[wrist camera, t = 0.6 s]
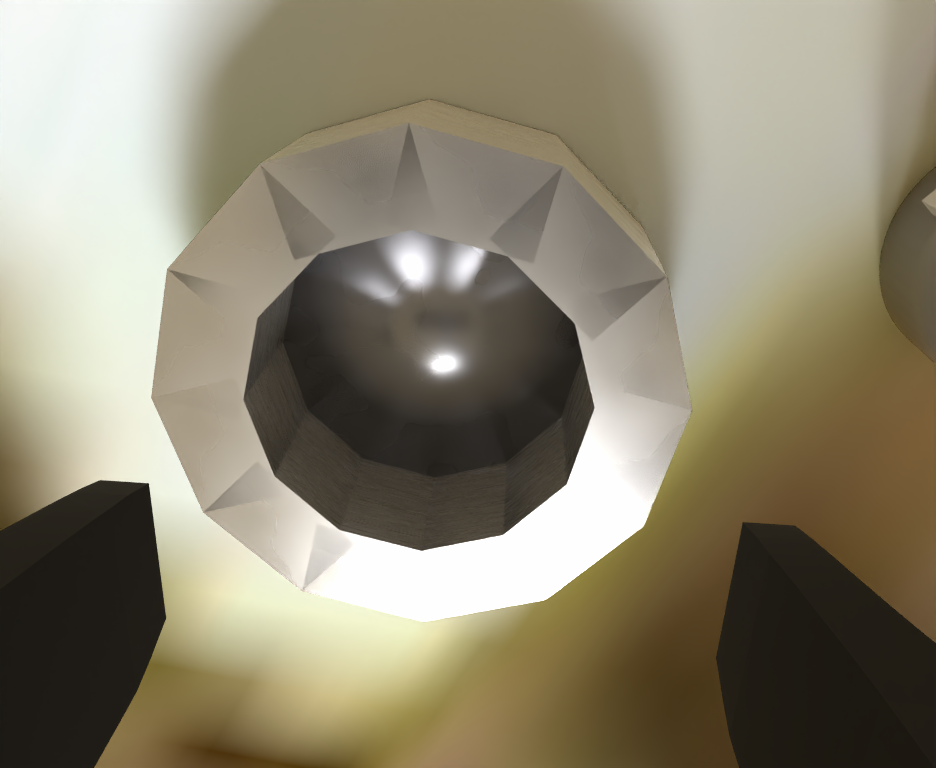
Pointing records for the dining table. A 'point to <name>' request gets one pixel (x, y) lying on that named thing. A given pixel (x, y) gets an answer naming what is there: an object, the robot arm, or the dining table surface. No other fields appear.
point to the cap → (913, 266)
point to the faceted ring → (423, 364)
